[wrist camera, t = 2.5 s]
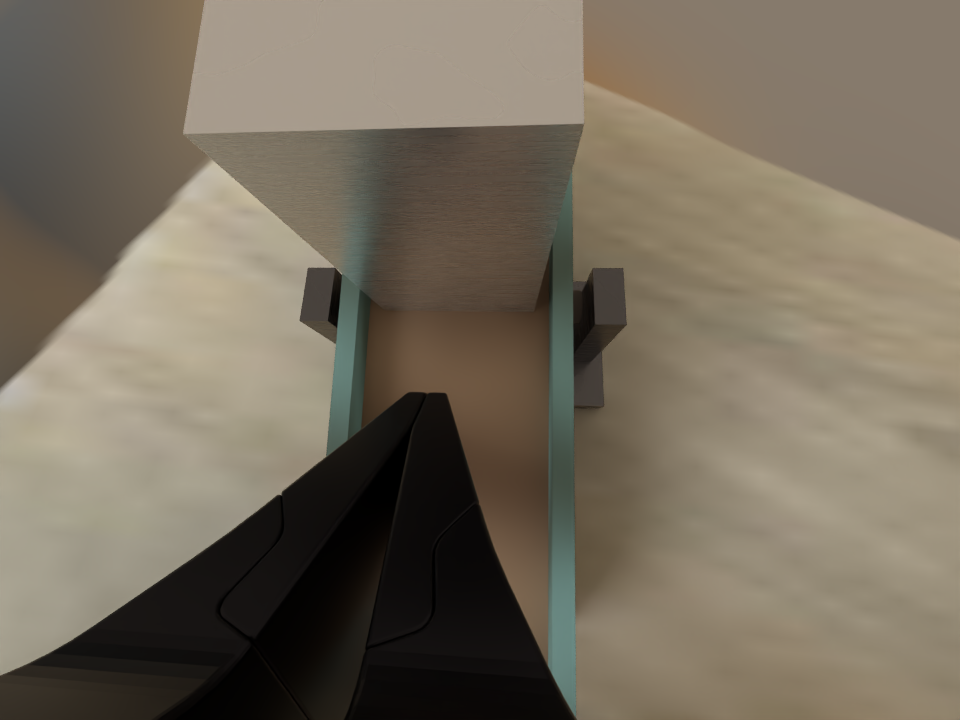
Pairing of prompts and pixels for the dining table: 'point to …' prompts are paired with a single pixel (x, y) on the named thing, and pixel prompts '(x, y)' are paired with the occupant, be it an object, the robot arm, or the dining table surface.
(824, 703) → the dining table surface
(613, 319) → the beam stand
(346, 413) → the balance beam
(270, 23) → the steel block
